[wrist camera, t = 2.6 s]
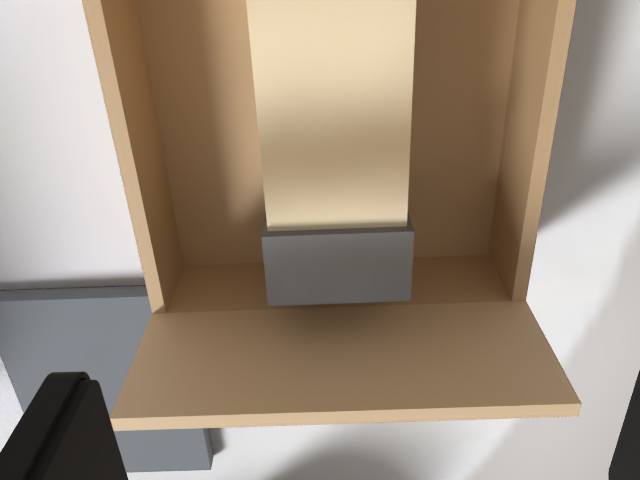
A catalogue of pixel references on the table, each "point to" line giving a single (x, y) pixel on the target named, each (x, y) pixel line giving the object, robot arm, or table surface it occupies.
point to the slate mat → (92, 360)
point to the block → (334, 147)
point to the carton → (249, 211)
